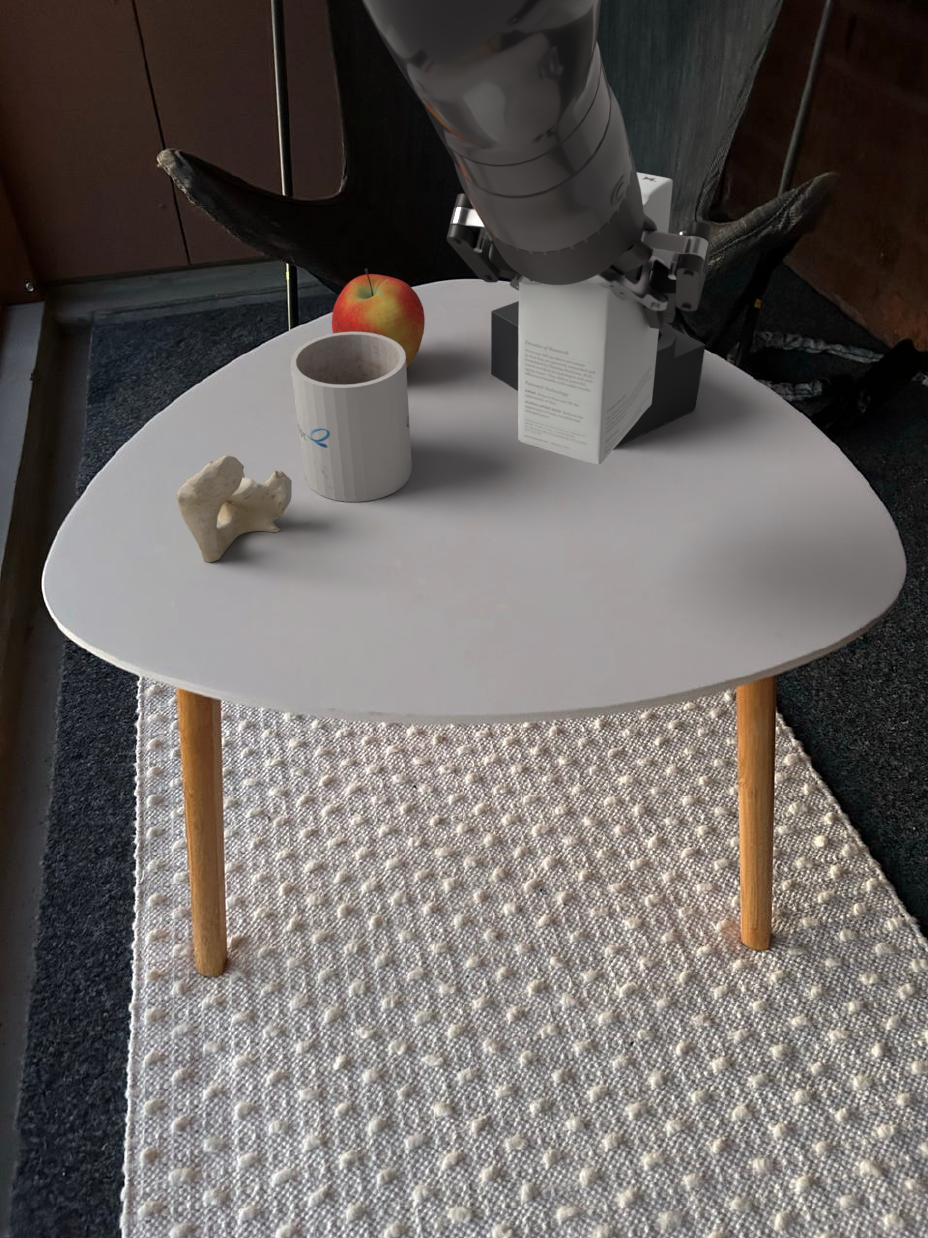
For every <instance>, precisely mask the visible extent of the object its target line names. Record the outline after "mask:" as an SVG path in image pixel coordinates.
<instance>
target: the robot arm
mask: <svg viewBox="0 0 928 1238" xmlns="http://www.w3.org/2000/svg"><path fill="white" fill-rule="evenodd" d="M361 1H362V4H363V6H364V8H365V10H366V12H367V14H368V16H369V18H370V20H371V21H372V24H373V25H374V27H375V30H376V31H377V33H378V35H379V36H380V38H381V40H382V42H383V43H384V45H385V47H386V49H387V51H388V52H389V54H390V56H391V57H392V59H393V61H394V62H395V64H396V65H397V67H398V69H399V71H400V72H401V73H402V76H403V77H404V78H405V80H406V81H407V84H409V86H410V88H411V89H412V91H413V92H414V93H415V96H417V98H418V99H419V101H420V102H421V104H422V105H423V106H424V109H425V110H426V113H427V115H428V117H429V119H430V121H431V123H432V125H433V127H434V130H435V131H436V133H437V135H438V137H439V138H440V140H441V142H442V144H443V145H444V147H445V149H446V151H447V152H448V154H449V157H450V158H451V160H452V161H453V163H454V167H455V171H456V174H457V178H458V180H459V183H460V186H461V187H462V189H463V191H464V193H459V194H457V196H456V199H455V204H454V207H453V210H452V214H451V218H450V222H449V228H448V232H447V234H446V235H447V236H446V239H445V240H446V242H447V243H448V244H449V245H450V246H451V248H452V249H453V250H454V252H456V254H458V255H459V257H460V258H461V259H462V260H463V261H464V262H465V263H466V265H467V266H468V267H469V268H470V270H472V271H473V273H474V274H475V275H476V276H477V278H478V279H480V280H482V281H483V282H485V283H489V284H490V283H493V284H494V283H498V282H499V279H500V277H502V278H505V279H509V281H510V282H509V286H510V287H511V288H513V289H515V290H516V291H519V282H521V283H524V284H534V285H541V284H548V285H568V284H574V283H578V282H582V281H585V280H586V281H587V282H589V283H590V284H599V285H601V286H602V287H604V288H608V289H610V290H611V291H612V292H613V293H614V294H615V296H617V297H618V298H620V299H621V300H637V301H639V302H640V303H642V304H643V305H644V307H643V308H644V311H645V314H646V317H647V320H648V324H649V327H650V328H655V329H662V328H663V325H664V322H665V323H667V324H671V323H673V321H674V320H675V316H676V311H677V308H678V309H680V310H682V311H684V312H695V311H697V310H698V308H699V304H700V300H701V296H702V293H703V289H704V284H705V281H706V276H707V272H708V267H709V259H710V251H711V243H712V235H713V234H712V233H713V227H712V226H711V225H710V224H708V223H705V222H702V221H690V222H689V223H688V224H687V228H686V231H684V230H681V231H679V232H678V233H671V232H668V233H665V232H659V231H658V230H657V226H656V224H655V223H654V221H653V220H652V219H650V218H649V217H648V216H647V215H646V214H645V213H644V212H643V202H642V194H641V188H640V184H639V180H638V176H637V173H638V171H637V168H636V164H635V160H634V155H633V151H632V148H631V144H630V141H629V137H628V132H627V128H626V124H625V119H624V117H623V114H622V110H621V108H620V107H621V106H620V104H619V101H618V100H617V98H616V96H615V94H614V91H613V90H612V88H611V85H610V84H609V82H608V78H607V77H608V76H607V74H606V70H605V66H604V62H603V59H602V55H601V50H600V46H599V43H598V36H599V27H600V16H601V7H602V0H361ZM651 271H652V275H651V279H650V283H649V278H650V274H651ZM624 274H626V275H625V277H623V276H622V275H624Z"/></svg>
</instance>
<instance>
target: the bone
mask: <svg viewBox="0 0 928 1238" xmlns="http://www.w3.org/2000/svg"><path fill="white" fill-rule="evenodd" d="M244 468H245V466H244V464H243V463H242V462H240V461H239V460H238V458H237V457H235V456H232V455H228V454H226V455H223V456H221V457H220V458H217V460H216V461H215V460H214V461H210V462H209V463H208V464H206V465H205V466H203V467H202V469H201V470H200V471H199V472H197V473H195V474H194V475H193V476H191V477H189V478H187V480H186V481H185V483H184V484H183V485H182V486H180V488H179V489H178V490H177V493H176V499H177V504H178V509H179V512H180V514H181V517H182V519H183V522H184V524H185V525H186V527H187V528H188V530H189V531H190V533H191V535H192V536H193V538H194V540H195V541H196V543H197V546H198V548H199V550H200V552H201V556H202V559H203V561H204V562H207V563H213V562H216V561H219V560H221V558H222V556H223V555H224V553H225V552H226V551H227V549H229V547H230V546H231V545H232V544H233V543H234V541H235V540H236V538H237V537H239V536H241V535H243V534H246V533H251V532H269V533H278V532H280V531H281V529H280V528H278V526H277V525H275V520H276V519H279V518H281V517H282V516H283V515H284V514H285V511H286V509H287V508H288V507H289V505H290V504H291V503H290V502H291V501H292V496H293V495H292V494H293V493H292V491H293V489H292V485H293V484H292V483H293V482H292V479H291V478H290V477H289V476H287V474H285V473H284V472H283V471H282V470H279V471H278V470H274V471H273V473H272V474H271V476H270V477H269V478H268V479H267V480H266V481H264V482H262V483H261V482H257V481H255V480H253V479H252V478H249V477H245V475H246V474H245V472H244ZM218 524H219V525H218Z"/></svg>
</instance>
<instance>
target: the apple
mask: <svg viewBox="0 0 928 1238" xmlns="http://www.w3.org/2000/svg"><path fill="white" fill-rule="evenodd" d="M364 272H365V274H362V275H359V276H357V277H354V278H353V279H352V280H350V281H349V282H348V283H347V284H346V285H345V286H344V287H343V289H342V290H341V292H340V294H339V295H338V297H337V299H336V301H335V302H334V305H333V310H332V313H331V330H332V334H334V333H340V332H367V333H374V334H378V335H382V336H385V337H387V338H390V339H392V340H394V341H395V342H397V343H398V344H399V345H400V346H401V347H402V348H403V350H404V351H405V356H406V369H408V367H409V366H410V365H411V364H412V362H413V361H414V359H415V358H416V356H417V354H418V352H419V350H420V347H421V344H422V340H423V338H424V332H425V320H426V319H425V310H424V307H423V303H422V301H421V299H420V297H419V295H418V293H417V292H416V291H415V289H413V288H412V287H411V286H410V285H409V284H408V283H406V282H405V281H403V280H402V279H399V278H396V277H391V276H389V275H382V274H377V273H376V274H375V273H369V269H368V268H365V269H364Z"/></svg>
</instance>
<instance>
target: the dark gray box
mask: <svg viewBox="0 0 928 1238" xmlns="http://www.w3.org/2000/svg"><path fill="white" fill-rule="evenodd" d="M490 313H491V314H490V316H491V319H490V320H491V321H490V324H491V325H490V326H491V327H490V333H491V334H490V339H491V342H490V345H491V346H490V374H491V375H492V376H494V377H495V378H497V379H499V380H500V381H502V382H503V383H505V384H506V385H508V386H510V387H511V388H513V389H514V390H516V391H518V353H519V331H518V326H519V300H518V301H514V302H512V303H509V304H507V305H504V306H501V307H499V308H496V309H492V310H491V312H490ZM705 349H706V344H704V343H703V342H701V341H699V340H697V339H695V338H693V337H691V336H689V335H687V334H685V333H683V332H681V331H679V330H677V329H675V328H673V326H672V325H671V324H670V323H667V322H664V325H663V328H662V329H659V333H658V343H657V354H656V364H655V375H654V384H653V395H652V404H651V405H650V406H649V408H648V409H647V410H646V411H645V412H644V413H643V414H642V415H641V417H640V418H639V419H638V421H637V422H636V423H635V424H634V426H633V427H632V428H631V429H630V430H629V431H628V433H627V434H626V435H625V436H624V437H623V439H622V440H621V441H620V442H619V443H618V444H617V446H616V447H615V448H617V447H620V446H621V445H623V444H626V443H628V442H631V441H632V440H634V439H636V438H639V437H640V436H642V435H645V434H647V433H649V432H651V431H653V430H655V429H657V428H659V427H661V426H664V425H666V424H668V423H671V422H672V421H674V420H676V419H678V418H681V417H683V416H685V415H687V414H689V413H692V412H694V411H696V410H697V406H698V405H697V403H698V398H699V390H700V385H701V376H702V371H703V364H704V356H705Z"/></svg>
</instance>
